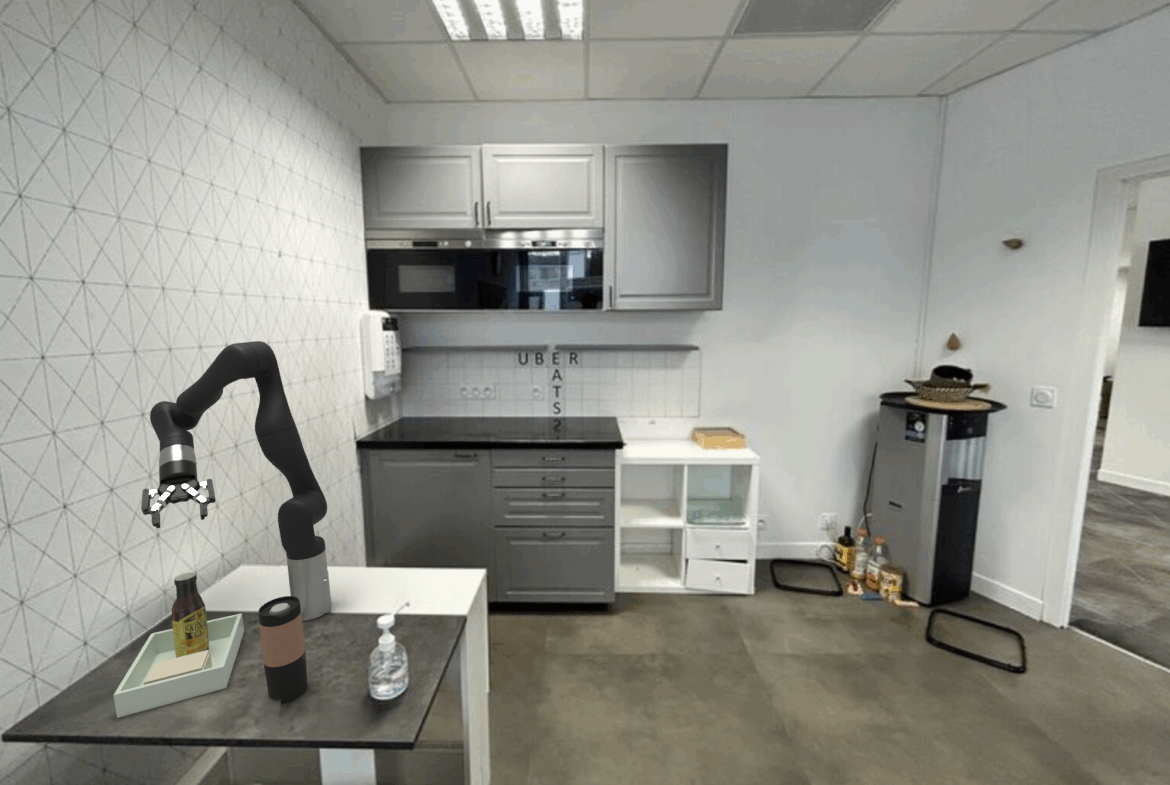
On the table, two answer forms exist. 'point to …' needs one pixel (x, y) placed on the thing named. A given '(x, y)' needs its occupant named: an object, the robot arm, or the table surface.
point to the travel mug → (283, 648)
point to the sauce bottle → (189, 617)
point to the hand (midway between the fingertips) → (180, 522)
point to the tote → (160, 648)
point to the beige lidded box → (179, 666)
